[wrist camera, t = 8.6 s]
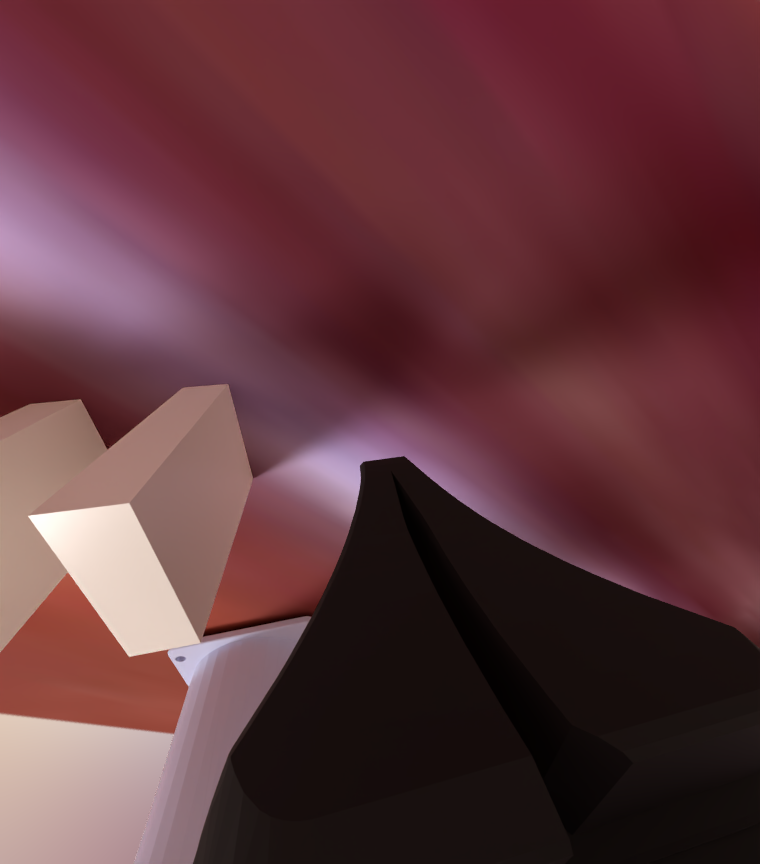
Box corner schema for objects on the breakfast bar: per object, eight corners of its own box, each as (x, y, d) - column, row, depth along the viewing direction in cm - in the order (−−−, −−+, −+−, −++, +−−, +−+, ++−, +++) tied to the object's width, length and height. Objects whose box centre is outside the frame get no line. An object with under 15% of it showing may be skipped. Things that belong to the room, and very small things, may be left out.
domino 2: (253, 478, 14) (200, 643, 8) (215, 483, 14) (129, 656, 7) (228, 383, 12) (129, 503, 6) (182, 387, 11) (27, 516, 5)
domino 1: (131, 496, 13) (-33, 691, 7) (89, 501, 13) (-119, 709, 7) (80, 399, 11) (-216, 553, 5) (29, 404, 11) (-349, 572, 5)
